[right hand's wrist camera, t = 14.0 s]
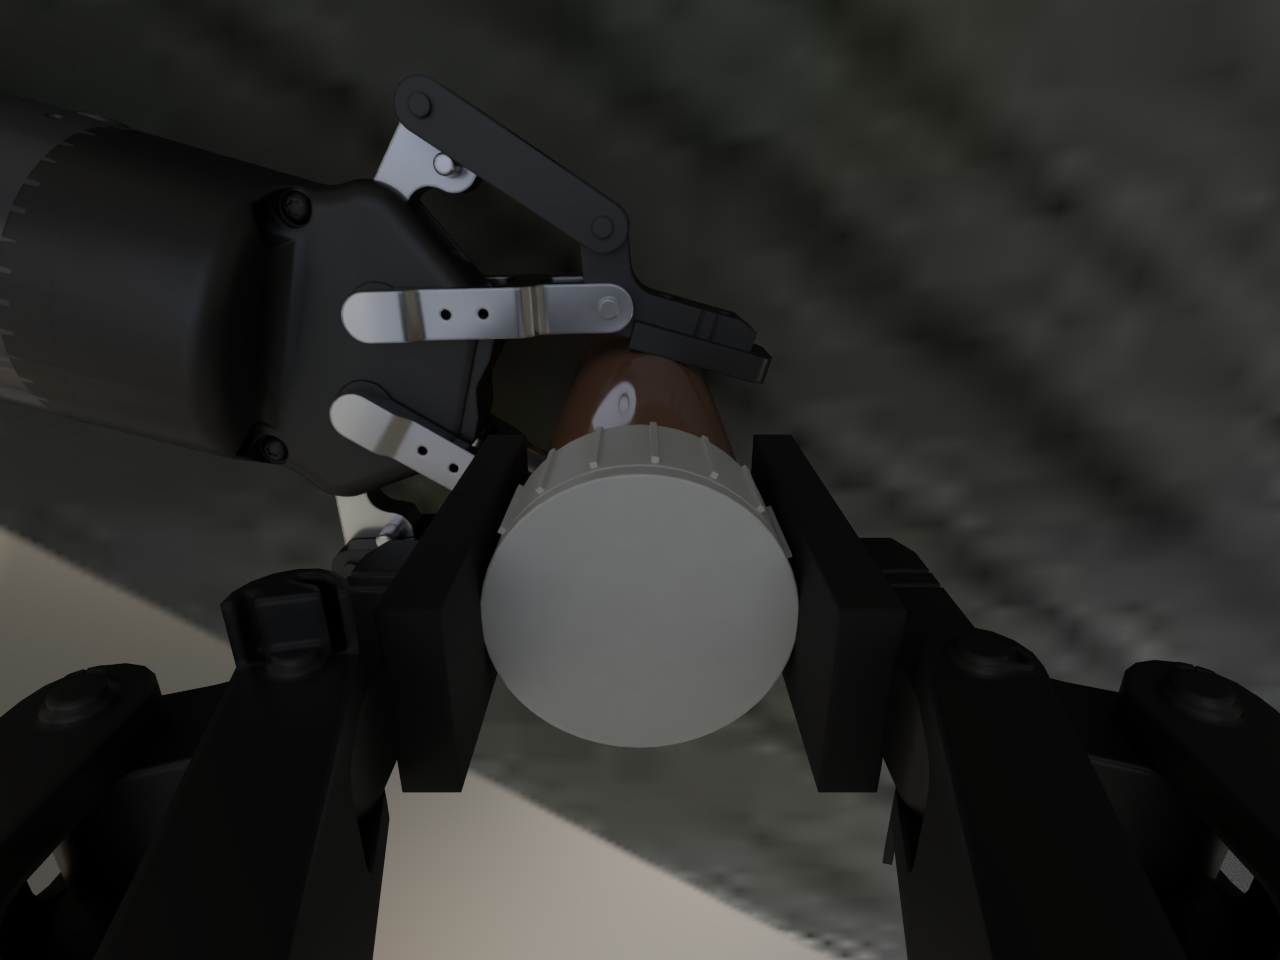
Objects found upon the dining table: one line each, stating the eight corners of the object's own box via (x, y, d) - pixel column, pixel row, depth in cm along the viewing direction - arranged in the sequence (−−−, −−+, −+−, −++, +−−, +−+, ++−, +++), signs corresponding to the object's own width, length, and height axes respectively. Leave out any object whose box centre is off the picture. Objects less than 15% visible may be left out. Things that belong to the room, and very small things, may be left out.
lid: (446, 525, 12) (404, 595, 10) (669, 359, 11) (676, 398, 9) (615, 702, 13) (609, 797, 11) (826, 571, 12) (865, 649, 10)
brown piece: (662, 289, 24) (698, 419, 9) (718, 393, 25) (824, 646, 11) (559, 350, 25) (444, 555, 10) (618, 447, 26) (592, 750, 12)
